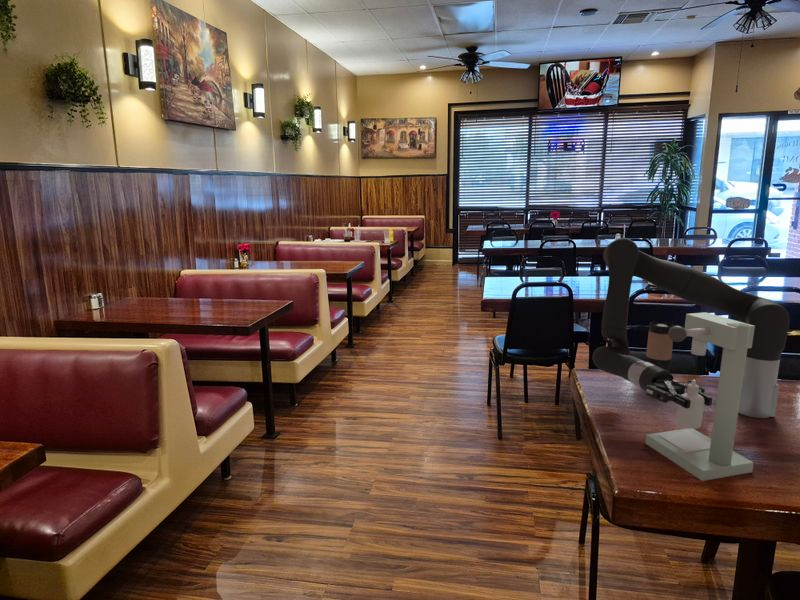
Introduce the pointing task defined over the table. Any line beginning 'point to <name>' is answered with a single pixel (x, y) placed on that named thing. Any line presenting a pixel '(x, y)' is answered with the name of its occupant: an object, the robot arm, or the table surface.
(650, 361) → the travel mug
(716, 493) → the table surface
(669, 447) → the arbor press
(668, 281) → the robot arm
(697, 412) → the eye dropper bottle
